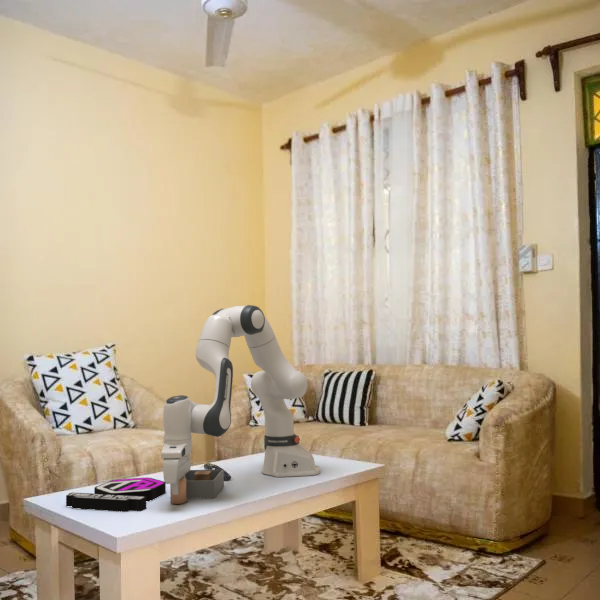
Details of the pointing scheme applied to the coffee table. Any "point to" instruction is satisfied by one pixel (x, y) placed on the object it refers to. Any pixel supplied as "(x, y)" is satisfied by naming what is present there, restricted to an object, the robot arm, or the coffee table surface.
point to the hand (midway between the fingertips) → (178, 491)
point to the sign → (119, 495)
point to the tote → (204, 484)
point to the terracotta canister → (182, 494)
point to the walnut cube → (202, 475)
